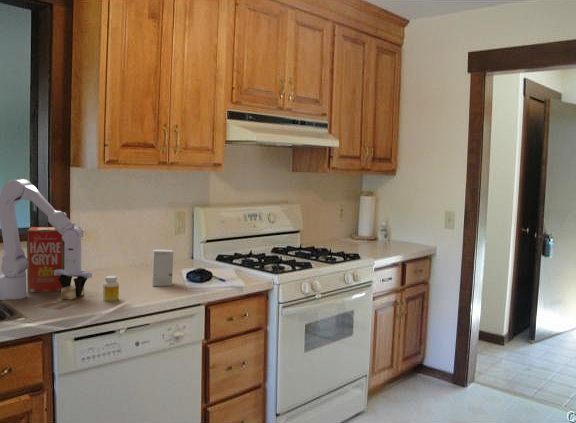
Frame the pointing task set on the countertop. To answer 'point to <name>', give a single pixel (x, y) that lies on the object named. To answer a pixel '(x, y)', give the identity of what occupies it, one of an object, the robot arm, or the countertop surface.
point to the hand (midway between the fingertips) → (73, 295)
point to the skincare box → (162, 267)
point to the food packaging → (44, 259)
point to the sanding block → (70, 292)
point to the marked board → (60, 302)
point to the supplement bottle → (111, 289)
